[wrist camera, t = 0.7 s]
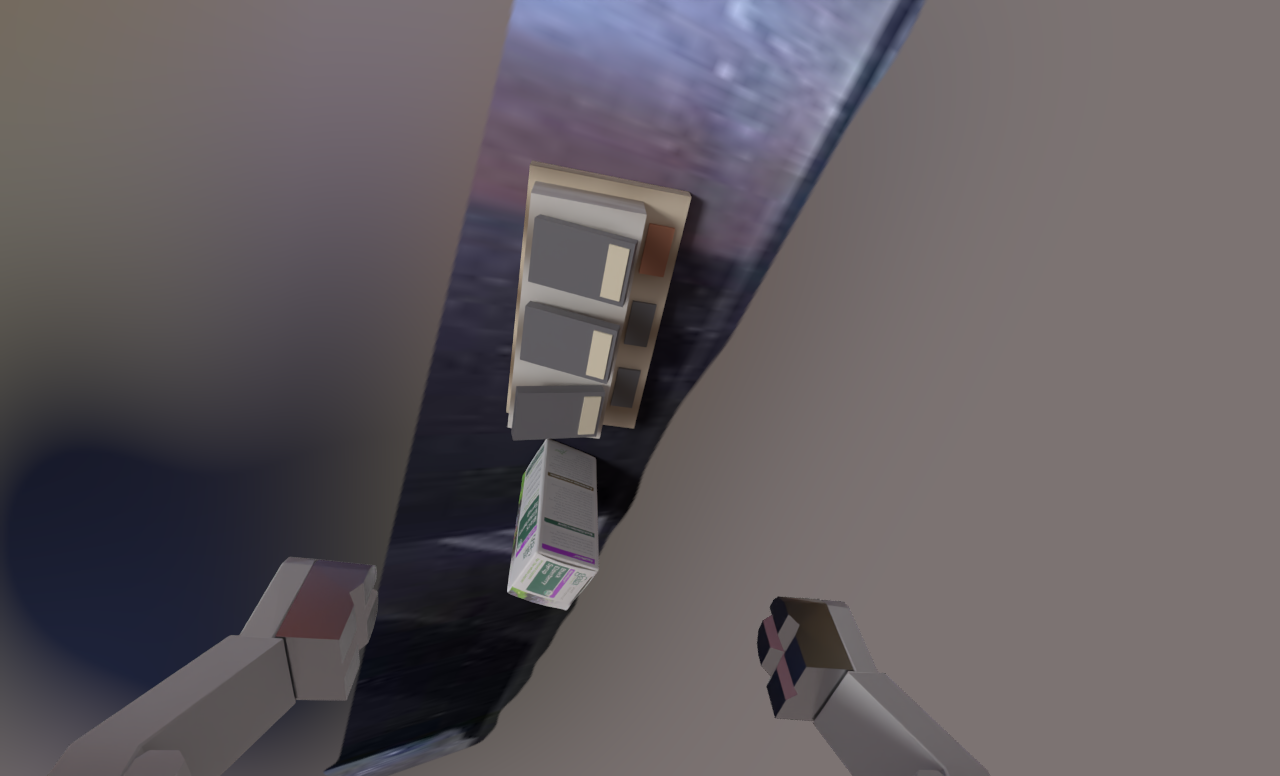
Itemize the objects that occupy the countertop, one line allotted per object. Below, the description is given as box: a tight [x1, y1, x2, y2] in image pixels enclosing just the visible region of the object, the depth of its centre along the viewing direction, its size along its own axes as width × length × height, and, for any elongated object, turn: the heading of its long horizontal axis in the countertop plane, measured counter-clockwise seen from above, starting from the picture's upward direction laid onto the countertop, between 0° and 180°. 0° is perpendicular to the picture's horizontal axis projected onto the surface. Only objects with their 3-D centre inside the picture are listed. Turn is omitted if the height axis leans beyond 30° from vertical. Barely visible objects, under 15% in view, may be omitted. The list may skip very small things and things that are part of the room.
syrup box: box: [507, 439, 599, 610], centre depth 52 cm, size 6×6×14 cm
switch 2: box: [511, 385, 605, 440], centre depth 46 cm, size 5×7×1 cm, turn 78°
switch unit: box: [506, 161, 691, 439], centre depth 46 cm, size 22×12×6 cm, turn 168°
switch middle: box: [520, 301, 620, 384], centre depth 42 cm, size 5×7×1 cm, turn 78°
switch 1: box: [528, 214, 638, 307], centre depth 39 cm, size 5×7×1 cm, turn 78°
